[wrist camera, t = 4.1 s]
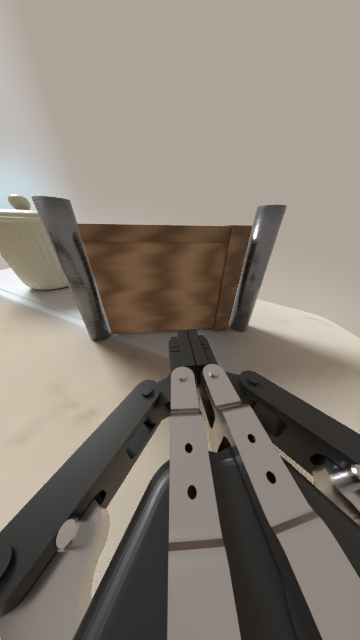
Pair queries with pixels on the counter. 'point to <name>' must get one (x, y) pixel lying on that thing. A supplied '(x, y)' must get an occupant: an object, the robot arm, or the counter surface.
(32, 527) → the robot arm
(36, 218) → the canister
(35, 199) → the gate posts
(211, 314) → the gate leaf
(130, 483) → the counter surface
